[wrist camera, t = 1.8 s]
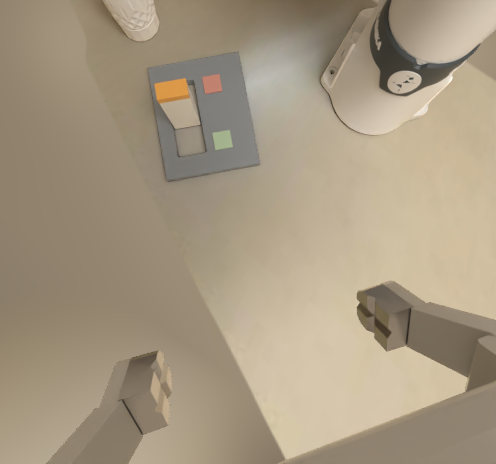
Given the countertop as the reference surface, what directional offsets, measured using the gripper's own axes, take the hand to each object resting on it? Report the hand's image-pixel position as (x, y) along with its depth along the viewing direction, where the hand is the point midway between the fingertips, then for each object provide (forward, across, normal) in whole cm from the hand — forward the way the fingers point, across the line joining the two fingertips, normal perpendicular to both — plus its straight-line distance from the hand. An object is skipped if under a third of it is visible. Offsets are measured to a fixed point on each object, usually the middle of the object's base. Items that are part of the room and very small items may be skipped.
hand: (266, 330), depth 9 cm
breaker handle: (+39, +1, -11) cm, 41 cm away
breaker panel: (+39, -2, -11) cm, 41 cm away
